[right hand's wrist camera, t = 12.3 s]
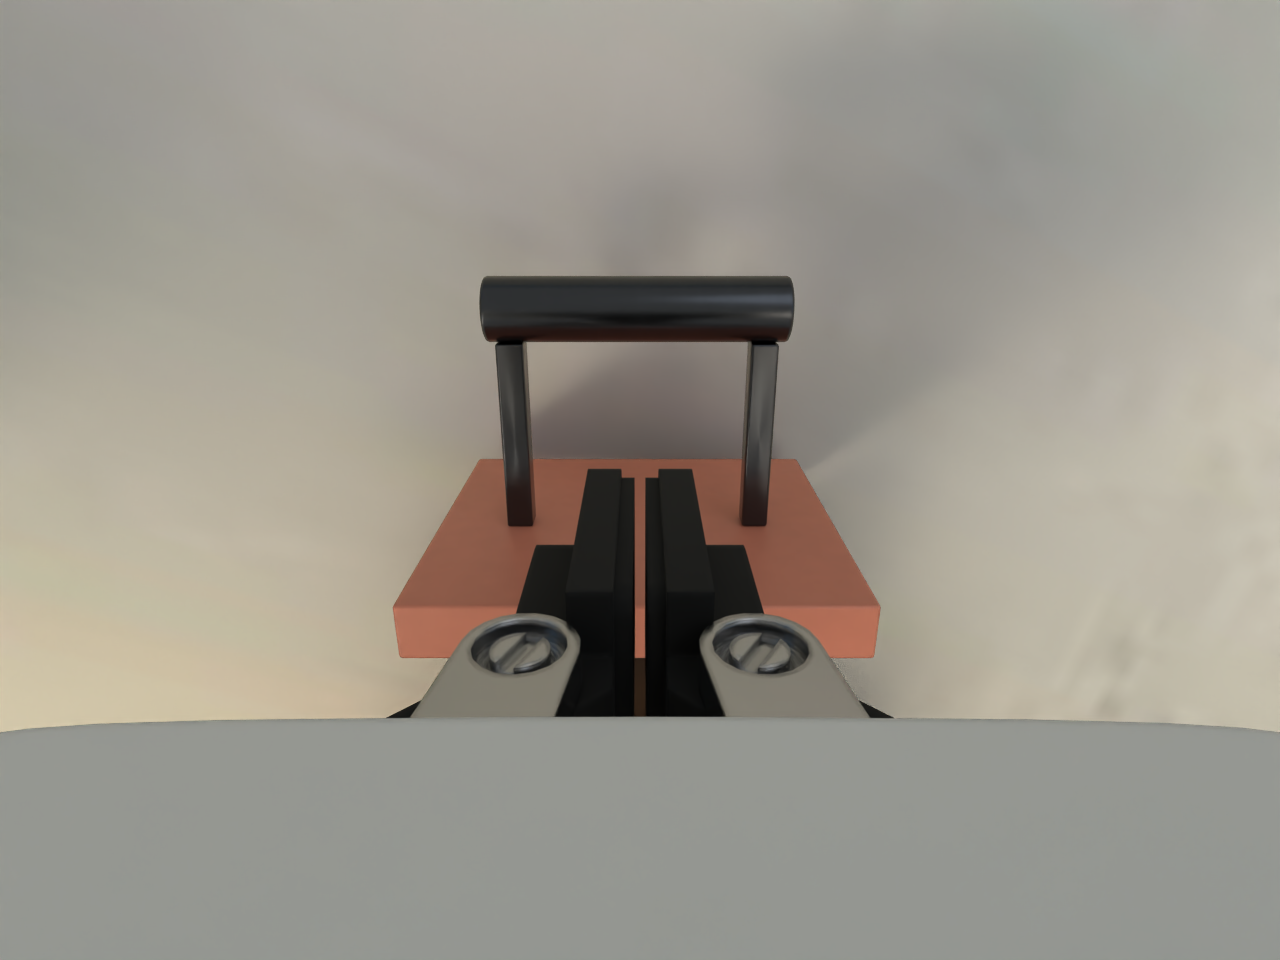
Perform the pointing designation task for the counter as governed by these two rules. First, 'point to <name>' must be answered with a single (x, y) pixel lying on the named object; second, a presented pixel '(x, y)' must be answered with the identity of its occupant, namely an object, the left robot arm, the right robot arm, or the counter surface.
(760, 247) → the counter surface
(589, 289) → the drawer
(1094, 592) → the counter surface
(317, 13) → the counter surface
